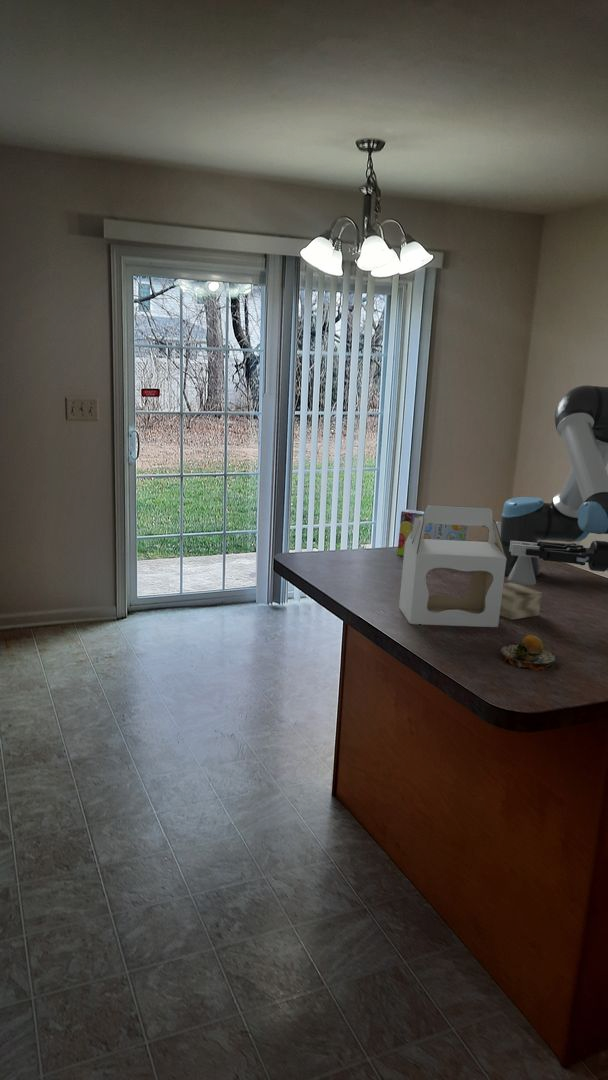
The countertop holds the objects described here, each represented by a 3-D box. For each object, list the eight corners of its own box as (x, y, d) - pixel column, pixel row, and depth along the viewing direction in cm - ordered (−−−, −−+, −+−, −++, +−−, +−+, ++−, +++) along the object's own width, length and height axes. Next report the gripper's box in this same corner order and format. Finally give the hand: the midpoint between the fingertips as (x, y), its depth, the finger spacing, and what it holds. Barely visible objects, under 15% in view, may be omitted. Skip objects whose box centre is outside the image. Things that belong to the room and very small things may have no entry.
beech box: (509, 603, 207) (512, 582, 206) (539, 615, 199) (542, 593, 198) (481, 607, 202) (484, 585, 201) (511, 619, 193) (513, 596, 192)
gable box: (482, 611, 200) (495, 504, 194) (499, 627, 187) (513, 513, 181) (397, 607, 198) (408, 499, 192) (408, 624, 185) (420, 509, 179)
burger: (545, 652, 172) (549, 620, 171) (564, 673, 161) (569, 638, 159) (491, 650, 172) (495, 617, 170) (507, 670, 160) (511, 636, 159)
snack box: (463, 562, 252) (468, 516, 249) (459, 565, 247) (464, 519, 244) (401, 552, 260) (405, 508, 257) (396, 555, 255) (400, 510, 252)
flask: (537, 587, 192) (542, 548, 190) (507, 584, 193) (512, 545, 191) (535, 580, 199) (540, 542, 197) (506, 576, 200) (510, 539, 198)
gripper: (613, 580, 185) (513, 570, 188) (597, 563, 200) (505, 554, 203) (618, 549, 183) (516, 540, 186) (602, 535, 199) (509, 526, 202)
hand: (511, 547), depth 195 cm, fingers closed on flask, 3 cm apart
